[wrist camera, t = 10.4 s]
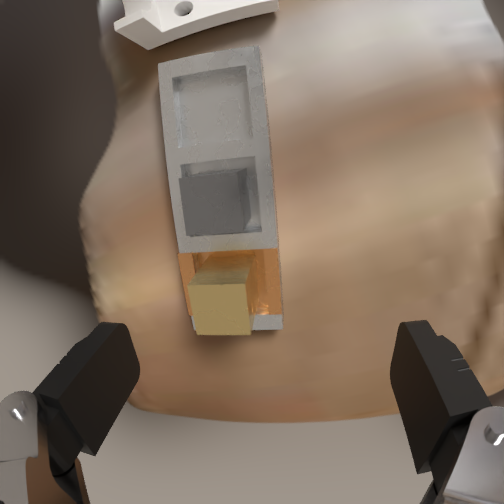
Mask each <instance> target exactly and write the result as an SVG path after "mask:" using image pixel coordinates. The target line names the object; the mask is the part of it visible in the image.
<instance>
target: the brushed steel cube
mask: <svg viewBox="0 0 504 504" xmlns="http://www.w3.org/2000/svg"><path fill="white" fill-rule="evenodd" d="M179 186H180V194H181V202H182V209H183V216H184V223H185V230H186V236H191V235H205V234H220V233H236V232H244V230H245V228H246V226H247V225H248V223H249V221H250V219H251V210H250V199H249V189H248V179H247V168H242V169H231V170H222V171H212V172H204V173H196V174H193V175H189V176H186V177H182V178H179Z"/></svg>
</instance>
